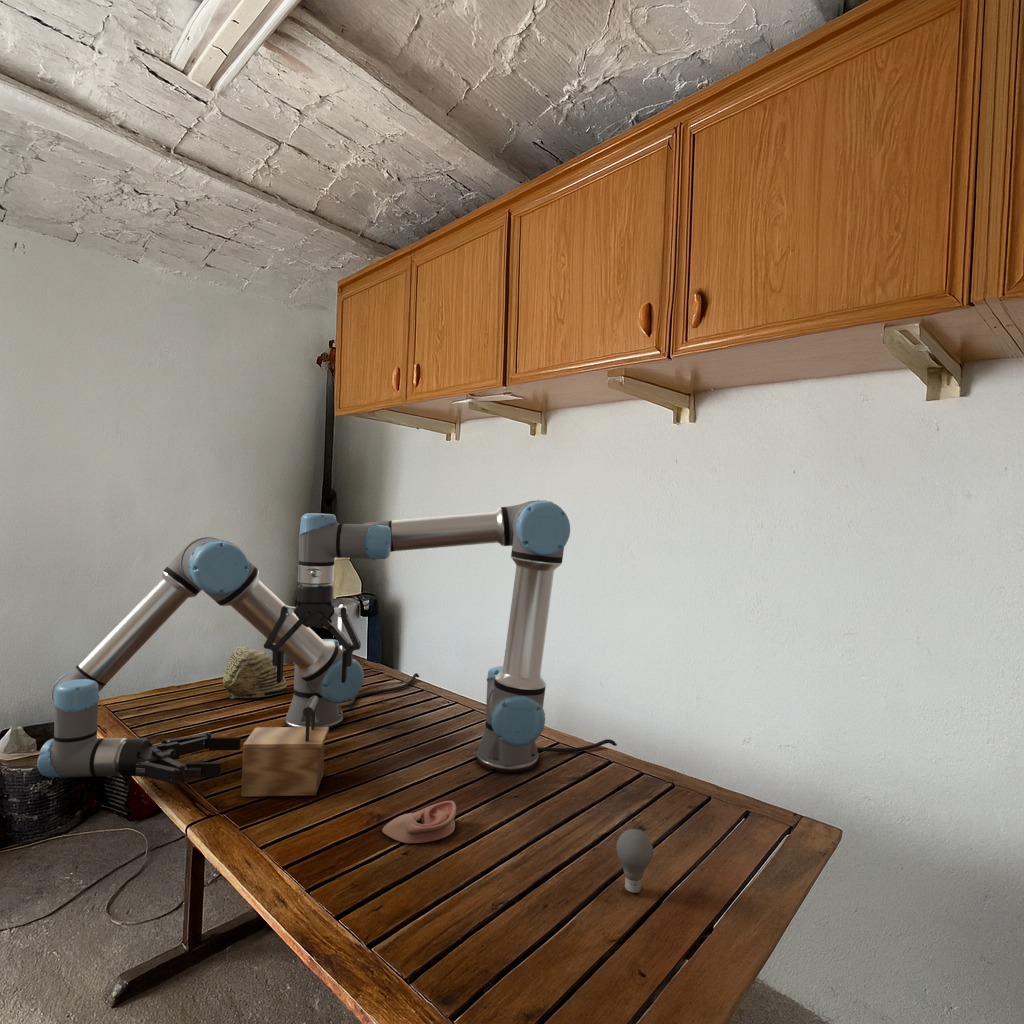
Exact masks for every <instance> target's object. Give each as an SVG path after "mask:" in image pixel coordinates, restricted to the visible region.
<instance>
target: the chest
mask: <svg viewBox="0 0 1024 1024" xmlns="http://www.w3.org/2000/svg"><path fill="white" fill-rule="evenodd" d="M325 742H326V740H325V741H324V743H323V746H322V748H243V747H242V767H241V790H240V791H241V792H240V796H241V797H242V798H245V797H246V798H247V797H295V796H299V797H300V796H301V797H302V796H317V793H318V790H319V787H320V785H321V782H322V779H323V777H324V768H325V766H324V764H325Z"/></svg>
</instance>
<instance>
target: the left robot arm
mask: <svg viewBox="0 0 1024 1024" xmlns="http://www.w3.org/2000/svg"><path fill="white" fill-rule="evenodd" d="M201 591H203V592H204V593H205V594H206V595H207V596H208V597H210V598H211V599H212V600H213V601H214V602H215V603H216V604H217V605H218V606H220V607H231V608H232V609H234V611H236V612H237V613H238V614H239V615H240V616H241V617H242V618H244V619H245V620H246V621H247V622H248V623H249V624H250V625H251V626H252V627H253V628H254V629H256V630H257V631H258V632H259V633H260V634H262V636H264V638H266V640H267V639H268V637H269V635H270V633H271V632H272V630H273V628H274V626H275V624H276V623H277V621H278V619H279V617H280V613H281V608H282V607H283V606H284V605H286V604H285V603H284V601H282V600H281V599H280V598H279V597H278V596H277V595H276V594H275V592H273V591H271V589H270V588H268V586H266V584H264V583H263V582H262V581H261V580H260V570H259V569H258V568H257V567H256V566H255V565H254V564H253V563H252V562H251V561H250V560H249V559H248V558H247V555H246V554H245V552H244V550H242V548H240V547H239V546H237V544H235V543H233V542H230V541H228V540H224V539H219V538H217V537H212V536H211V537H210V536H205V537H204V536H203V537H199V538H196V539H194V540H192V541H191V542H189V543H188V544H187V545H185V547H183V549H182V550H181V551H180V552H179V553H178V554H177V555H176V556H175V557H174V558H173V560H172V561H171V562H170V563H169V564H168V565H167V566H166V567H165V568H164V569H163V570H162V571H161V578H160V579H159V581H158V582H157V583H156V584H154V586H153V587H151V589H150V590H149V591H148V592H147V593H146V594H144V596H143V597H142V598H141V599H140V600H139V601H138V602H137V603H136V604H135V605H134V606H133V607H132V608H131V609H130V610H129V611H128V612H127V613H126V614H125V615H124V616H123V617H122V619H121V620H119V622H118V623H116V624H115V626H113V627H112V629H111V630H109V632H108V633H106V635H105V636H104V637H103V638H102V639H101V640H100V641H99V642H98V643H97V644H96V645H95V646H94V647H93V648H92V649H91V650H90V651H89V652H88V653H87V654H86V655H85V656H84V657H83V658H82V659H81V660H80V661H79V662H78V664H77V665H76V666H75V667H74V668H72V669H71V670H70V671H69V672H66V673H65V674H63V675H61V676H60V677H59V678H58V679H57V680H56V681H55V682H54V685H53V688H52V690H51V697H52V698H51V699H52V701H53V713H54V714H53V715H54V717H53V718H54V719H53V725H54V726H53V728H54V729H53V731H54V732H53V738H51V739H48V740H46V742H44V744H43V745H42V747H41V748H40V750H39V755H38V758H37V763H36V766H37V770H38V772H39V774H40V775H42V776H43V777H46V778H47V777H50V778H61V779H66V778H67V779H68V778H86V777H87V778H88V777H89V778H90V777H96V778H97V777H106V778H107V779H112V777H120V776H122V777H145V778H149V779H153V780H157V781H162V782H166V783H169V784H170V783H171V784H176V783H179V784H182V783H185V782H186V781H185V779H186V778H220V777H221V776H222V761H205V762H204V761H203V762H202V761H201V762H195V761H194V762H187V763H186V765H185V764H183V763H182V762H179V761H177V760H178V759H179V758H180V757H181V756H184V755H189V754H193V753H196V752H201V751H204V750H208V751H211V752H212V751H215V752H216V751H241V743H242V742H241V741H242V740H241V739H242V738H241V736H229V737H228V736H213V737H212V733H211V732H205V733H201V734H195V735H188V736H181V737H175V738H163V739H161V743H160V744H157V745H153V744H152V743H151V741H150V739H149V738H147V737H130V738H127V737H105V738H103V737H102V738H101V737H98V720H99V719H98V716H99V701H100V693H99V692H100V691H102V690H103V688H104V687H105V686H106V685H107V684H108V683H109V682H110V681H111V680H112V679H113V677H114V676H115V675H116V674H117V673H118V672H119V671H120V670H122V668H123V667H124V666H125V665H126V664H127V663H128V662H129V661H130V659H132V658H133V656H134V655H135V654H137V653H138V651H139V650H141V648H142V647H143V646H144V645H145V644H146V643H147V642H148V641H149V640H150V639H151V637H153V636H154V635H155V633H156V632H158V630H159V629H160V628H161V627H163V625H164V624H165V623H166V622H167V621H168V620H169V619H170V618H171V617H172V615H173V614H174V613H176V611H177V610H178V609H179V608H180V607H181V606H182V605H183V604H184V603H185V602H186V601H187V600H188V599H189V598H195V597H197V595H198V594H199V593H201ZM298 620H299V619H298V617H297V616H296V615H295V613H294V612H292V614H291V615H290V616H287V619H286V620H285V622H284V624H283V626H282V628H281V629H280V631H279V633H278V635H277V636H276V638H275V640H274V642H273V643H275V644H277V643H278V641H279V640H280V639H281V638H282V637H283V636H284V635H285V634H286V633H287V632H288V631H289V630H290V629H291V628H292V626H293V625H294V624H295V623H296V622H297V621H298ZM280 649H284V656H286V657H287V658H288V659H289V660H290V661H292V663H293V664H294V672H293V673H294V674H293V695H292V696H293V697H292V699H291V702H290V704H289V708H288V711H287V713H286V715H285V727H306V716H304V715H303V710H304V708H305V706H306V704H307V702H308V701H309V699H310V697H312V696H317V697H318V698H319V703H318V705H317V707H316V709H315V727H329V730H332V729H335V728H337V727H339V726H340V725H342V723H343V722H344V714H343V709H347V708H350V707H352V706H353V705H354V704H355V701H356V699H359V698H361V697H365V696H372V695H377V694H383V693H389V692H396V691H400V690H402V689H404V688H406V687H408V686H409V685H411V684H412V683H414V681H415V679H416V678H420V675H419V673H417V672H416V673H414V674H413V675H412V677H411V679H410V680H409V681H407V682H406V683H404V684H401V685H399V686H394V687H390V688H383V689H382V688H381V689H378V690H372V691H365V692H360V690H361V689H362V686H363V684H364V678H365V673H364V669H363V667H362V665H361V664H360V663H359V661H358V660H357V659H356V658H355V659H354V658H353V657H352V664H351V666H350V667H347V679H346V682H345V683H341V681H342V656H343V651H344V650H343V648H341V646H340V643H339V642H338V640H337V639H336V638H335V639H334V638H323V639H322V638H321V637H320V636H319V635H318V634H317V633H316V632H315V631H314V630H313V629H312V628H311V627H306V626H304V625H303V624H302V625H301V626H300V627H299V628H298V629H297V630H296V632H295V633H294V634H293V635H292V636H291V637H290V638H289V639H288V640H287V641H286V642H285V643H284V644H283V645H282V647H281V648H280ZM359 692H360V693H359ZM349 701H350V702H349ZM347 702H349V703H347ZM345 703H346V704H345ZM310 727H311V716H310Z"/></svg>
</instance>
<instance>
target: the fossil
mask: <svg viewBox="0 0 1024 1024" xmlns="http://www.w3.org/2000/svg"><path fill="white" fill-rule="evenodd" d="M222 676H223V677H222V685H223V687H224V688H225V690H226V691H228V693H229V698H230V699H250V698H264V697H271V696H275V695H281V694H284V693H285V691H286V689H287V687H288V686H287V680H286V678H285V676H284V675H283V679H282V681H281V682H280V683H277V666H273V664H272V658H271V657H270V656H269V655H268V654H267V653H266V652H265V650H264V649H263V648H260V647H258V648H251V647H247V646H246V647H245V646H238V647H237V648H236V649H235V650H233V651H232V653H231V656H230V657H229V659H228V660H227V663H226V666H225V668H224V671H223V675H222Z"/></svg>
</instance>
